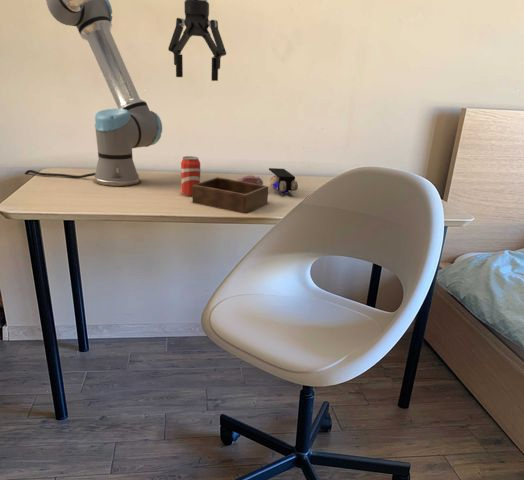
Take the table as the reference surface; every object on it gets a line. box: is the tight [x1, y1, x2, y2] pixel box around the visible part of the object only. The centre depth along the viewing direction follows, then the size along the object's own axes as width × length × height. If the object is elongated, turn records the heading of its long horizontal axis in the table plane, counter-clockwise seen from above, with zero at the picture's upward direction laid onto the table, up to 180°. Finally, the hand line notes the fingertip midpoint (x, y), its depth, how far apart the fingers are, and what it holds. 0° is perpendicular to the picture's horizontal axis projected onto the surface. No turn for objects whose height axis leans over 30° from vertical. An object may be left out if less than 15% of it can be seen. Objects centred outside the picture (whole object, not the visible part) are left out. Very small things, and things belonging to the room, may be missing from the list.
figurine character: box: [268, 167, 299, 197], centre depth 184 cm, size 7×8×15 cm
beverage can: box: [180, 155, 201, 197], centre depth 171 cm, size 6×6×12 cm
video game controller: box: [236, 174, 264, 185], centre depth 182 cm, size 10×5×7 cm, turn 105°
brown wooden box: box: [192, 176, 269, 214], centre depth 167 cm, size 20×16×6 cm
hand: (196, 79), depth 166 cm, fingers open, 13 cm apart
